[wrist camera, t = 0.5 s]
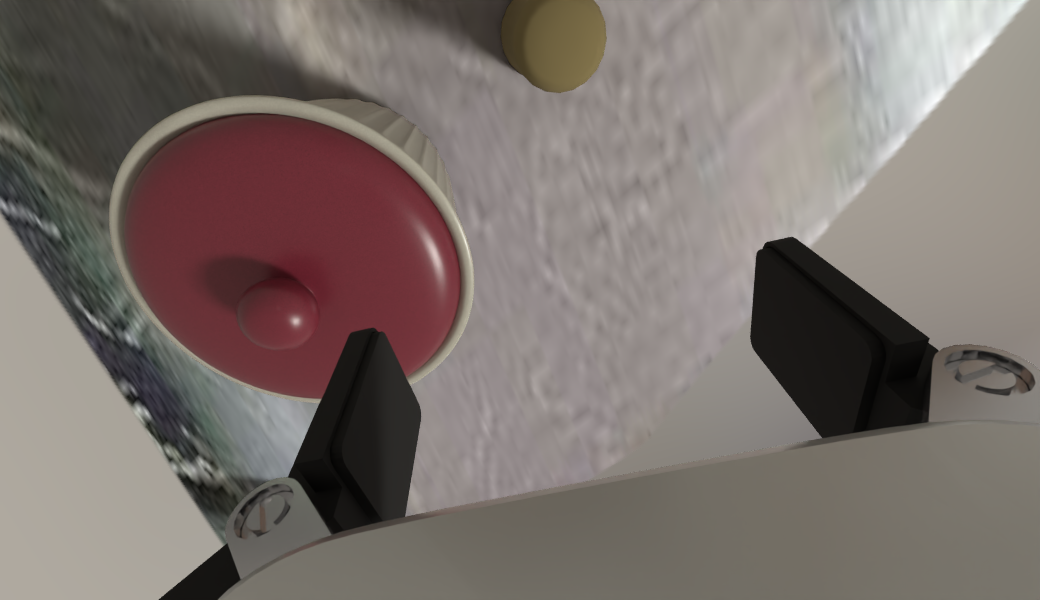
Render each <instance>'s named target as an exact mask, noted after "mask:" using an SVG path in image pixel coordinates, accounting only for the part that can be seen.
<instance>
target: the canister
mask: <svg viewBox="0 0 1040 600" xmlns="http://www.w3.org/2000/svg"><path fill="white" fill-rule="evenodd" d="M109 227H110V236H111V242H112V246H113V250H114V254H115V257H116V261H117V263H118V266H119V269H120V271H121V274H122V276H123V278H124V280H125V282H126V284H127V286H128V288H129V290H130V291H131V293H132V295H133V296H134V298H135V300H136V301H137V303H138V304H139V305H140V307H141V308H142V310H143V311H144V312H145V314H146V315H147V316H148V317H149V319H150V320H151V321H152V322H153V323H154V324H155V325H156V326H157V328H158V329H159V330H160V331H161V332H162V333H163V334H164V335H165V336H166V337H167V338H168V339H170V340H171V341H172V342H173V343H174V344H175V345H176V346H177V347H179V348H180V349H181V350H182V351H184V352H185V353H186V354H188V355H189V356H190V357H192V358H193V359H195V360H196V361H197V362H199V363H200V364H202V365H204V366H205V367H207V368H208V369H210V370H212V371H214V372H215V373H217V374H219V375H221V376H223V377H225V378H227V379H229V380H231V381H233V382H235V383H238V384H240V385H242V386H245V387H247V388H250V389H253V390H256V391H258V392H262V393H265V394H268V395H272V396H276V397H280V398H284V399H289V400H295V401H302V402H310V403H320V401H321V399H322V397H323V395H324V393H325V390H326V388H327V386H328V383H329V381H330V379H331V376H332V374H333V372H334V369H335V367H336V365H337V362H338V360H339V358H340V355H341V353H342V351H343V348H344V346H345V344H346V341H347V339H348V336H349V335H350V333H351V332H354V331H359V330H363V329H368V328H375V329H376V330H377V331H378V332H381V331H382V332H384V333H385V334H386V336H387V338H388V340H389V342H390V344H391V346H392V349H393V351H394V353H395V355H396V357H397V359H398V361H399V363H400V365H401V367H402V370H403V372H404V374H405V376H406V378H407V380H408V382H409V384H410V385H411V384H413V383H415V382H417V381H418V380H420V379H421V378H423V377H424V376H426V375H427V374H429V373H430V372H431V371H432V370H434V369H435V368H436V367H437V366H438V365H439V364H440V363H441V362H442V361H443V360H444V359H445V358H446V357H447V356H448V355H449V353H450V352H451V351H452V350H453V348H454V347H455V345H456V344H457V342H458V340H459V339H460V337H461V335H462V333H463V331H464V329H465V327H466V324H467V321H468V318H469V315H470V311H471V307H472V302H473V294H474V268H473V261H472V255H471V250H470V247H469V243H468V240H467V237H466V234H465V231H464V229H463V226H462V224H461V222H460V220H459V218H458V216H457V214H456V208H455V202H454V198H453V193H452V187H451V183H450V178H449V175H448V174H447V172H446V170H445V165H444V162H443V160H442V159H441V158H440V157H439V155H438V152H437V149H436V148H435V147H434V146H433V145H432V144H431V143H430V141H429V140H428V137H427V136H426V135H424V134H423V133H422V132H421V131H420V130H419V129H418V128H417V126H416V125H414V124H412V123H410V122H409V121H408V120H407V119H405V117H404V116H402V115H398V114H396V113H395V112H393V111H392V110H391V109H389V108H384V107H381V106H379V105H377V104H375V103H373V102H362V101H361V100H358V99H348V100H344V99H320V100H311V101H301V100H297V99H291V98H285V97H277V96H265V95H243V96H231V97H224V98H218V99H213V100H209V101H205V102H202V103H198V104H195V105H192V106H190V107H187V108H185V109H182V110H180V111H178V112H176V113H174V114H172V115H170V116H168V117H166V118H165V119H163V120H162V121H160V122H159V123H157V124H156V125H154V126H153V127H152V128H151V129H149V130H148V131H147V132H146V133H145V134H144V135H143V136H142V137H141V138H140V139H139V140H138V141H137V142H136V143H135V144H134V146H133V147H132V148H131V150H130V151H129V152H128V154H127V155H126V157H125V159H124V160H123V162H122V164H121V166H120V168H119V170H118V173H117V175H116V178H115V181H114V184H113V188H112V192H111V198H110V206H109Z"/></svg>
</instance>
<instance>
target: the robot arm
mask: <svg viewBox="0 0 1040 600" xmlns="http://www.w3.org/2000/svg"><path fill="white" fill-rule="evenodd" d="M750 337H751V338H750V339H751V344H752V347H753V349H754V351H755V352H756V353H757V355H758V356H759V357H760V359H761V360H762V361H763V362H764V364H765V365H766V366H767V368H768V369H769V370H770V371H771V373H772V374H773V375H774V376H775V378H776V379H777V380H778V382H779V383H780V384H781V386H782V387H783V388H784V389H785V391H786V392H787V393H788V395H789V396H790V397H791V398H792V400H793V401H794V402H795V404H796V405H797V406H798V407H799V409H800V410H801V411H802V413H803V414H804V415H805V416H806V418H807V419H808V420H809V422H810V423H811V424H812V425H813V427H814V428H815V429H816V431H817V432H818V433H819V434H820V436H821V437H822V438H821V439H816V440H809V441H803V442H798V443H792V444H787V445H781V446H776V447H770V448H765V449H759V450H754V451H749V452H743V453H737V454H732V455H727V456H721V457H715V458H710V459H705V460H699V461H693V462H688V463H682V464H677V465H672V466H666V467H661V468H656V469H650V470H645V471H639V472H634V473H629V474H623V475H618V476H613V477H607V478H602V479H597V480H591V481H586V482H581V483H575V484H570V485H565V486H559V487H554V488H549V489H544V490H538V491H533V492H528V493H523V494H518V495H512V496H507V497H502V498H497V499H492V500H486V501H481V502H476V503H471V504H466V505H460V506H455V507H450V508H445V509H440V510H435V511H431V512H426V513H421V514H416V515H412V516H407V517H405V513H406V507H407V501H408V495H409V489H410V483H411V477H412V471H413V464H414V458H415V452H416V446H417V440H418V434H419V428H420V422H421V409H420V406H419V403H418V401H417V399H416V397H415V395H414V393H413V390H412V388H411V386H410V384H409V382H408V380H407V378H406V376H405V374H404V372H403V370H402V367H401V365H400V363H399V361H398V359H397V357H396V355H395V353H394V351H393V349H392V346H391V344H390V342H389V340H388V338H387V336H386V334H385V333H384V332H382V331H381V332H378V331H377V330H376V329H375V328H368V329H363V330H359V331H354V332H351V333H350V335H349V336H348V339H347V341H346V344H345V346H344V348H343V351H342V353H341V355H340V358H339V360H338V362H337V365H336V367H335V369H334V372H333V374H332V376H331V379H330V381H329V383H328V386H327V388H326V390H325V393H324V395H323V397H322V399H321V401H320V404H319V406H318V408H317V411H316V413H315V415H314V418H313V420H312V422H311V425H310V427H309V429H308V432H307V434H306V436H305V439H304V441H303V443H302V446H301V448H300V450H299V453H298V455H297V457H296V460H295V462H294V464H293V467H292V469H291V471H290V474H289V476H288V477H283V478H276V479H273V480H271V481H268V482H265V483H264V484H262V485H260V486H259V487H257V488H255V489H254V490H253V491H251V492H250V493H249V494H248V495H247V496H245V497H244V498H243V499H242V500H241V502H240V503H239V504H238V505H237V506H236V507H235V509H234V510H233V512H232V514H231V515H230V517H229V519H228V522H227V525H226V528H225V535H226V541H227V544H226V545H225V546H223V547H222V548H221V549H220V550H218V551H217V552H216V553H215V554H214V555H212V556H211V557H210V558H209V559H207V560H206V561H205V562H204V563H203V564H202V565H200V566H199V567H198V568H197V569H195V570H194V571H193V572H192V573H190V574H189V575H188V576H187V577H186V578H185V579H183V580H182V581H181V582H180V583H178V584H177V585H176V586H175V587H173V589H171V590H170V591H168V592H167V593H166V594H165V595H164V596H162V597H161V598H160V599H159V600H1040V370H1039V369H1038V368H1037V367H1036V366H1035V365H1034V364H1032V363H1030V362H1028V361H1027V360H1025V359H1023V358H1022V357H1020V356H1017V355H1014V354H1012V353H1009V352H1007V351H1004V350H1000V349H996V348H992V347H987V346H980V345H971V344H968V345H953V346H950V347H946V348H943V349H941V350H940V351H938V350H937V349H936V348H935V347H933V346H932V345H930V344H929V343H928V341H929V338H928V337H927V336H926V335H924V334H923V333H922V332H920V331H919V330H918V329H916V328H915V327H914V326H912V325H911V324H909V323H908V322H907V321H906V320H904V319H903V318H902V317H900V316H899V315H898V314H896V313H895V312H893V311H892V310H891V309H890V308H888V307H887V306H885V305H884V304H883V303H881V302H880V301H879V300H877V299H876V298H875V297H873V296H872V295H871V294H869V293H868V292H867V291H865V290H864V289H863V288H861V287H860V286H859V285H857V284H856V283H855V282H853V281H852V280H851V279H849V278H848V277H847V276H845V275H844V274H843V273H841V272H840V271H839V270H837V269H836V268H834V267H833V266H832V265H831V264H829V263H828V262H826V261H825V260H824V259H823V258H821V257H820V256H819V255H817V254H816V253H815V252H813V251H812V250H811V249H809V248H808V247H806V246H805V245H804V244H802V243H801V242H800V241H798V240H797V239H796V238H794V237H788V238H784V239H779V240H774V241H770V242H766V243H765V244H764V246H763V249H761V250H759V251H758V252H757V255H756V266H755V280H754V293H753V307H752V321H751V335H750Z"/></svg>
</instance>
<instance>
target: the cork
mask: <svg viewBox="0 0 1040 600" xmlns="http://www.w3.org/2000/svg"><path fill="white" fill-rule="evenodd" d="M501 41H502V46H503V51H504V53H505V55H506V57H507V59H508V61H509V63H510V64H511V65H512V66H513V67H514V68H515V69H516V70H517V71H518V72H519V73H520V74H522V75H523V76H524V77H525V78H526V79H527V80H528V81H529V82H530V83H531V84H532V85H534V86H536V87H538V88H540V89H542V90H544V91H547V92H556V93H561V92H566V91H570V90H574V89H575V88H577V87H579V86H580V85H582V84H583V83H585V82H586V81H587V80H588V79H589V78H590V77H591V76H592V75H593V73H594V72H595V71H596V70H597V68H598V66H599V64H600V62H601V60H602V57H603V55H604V50H605V44H606V28H605V21H604V18H603V16H602V13H601V11H600V8H599V6H598V5H597V4H596V2H595V1H594V0H512V1H511V3H510V4H509V5H508V7H507V9H506V12H505V14H504V17H503V20H502V26H501Z"/></svg>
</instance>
